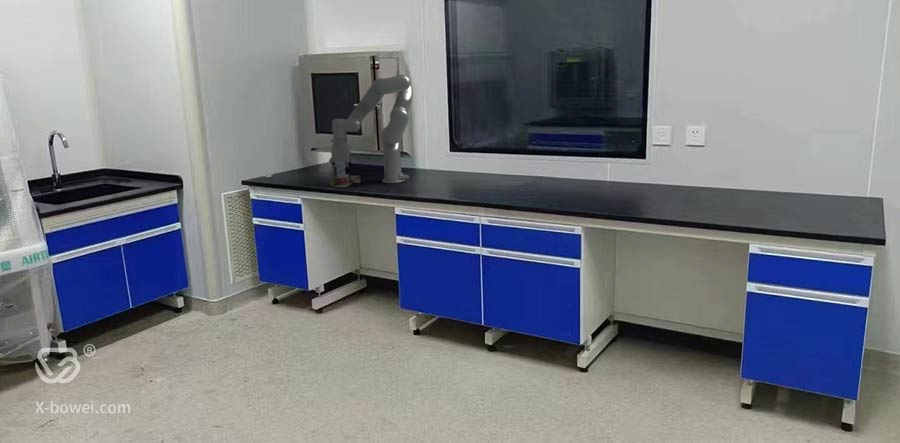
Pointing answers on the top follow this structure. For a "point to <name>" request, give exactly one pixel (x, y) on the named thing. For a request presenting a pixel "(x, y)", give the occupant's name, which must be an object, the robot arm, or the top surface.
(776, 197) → the top surface
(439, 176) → the top surface
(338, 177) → the ink box
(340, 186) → the pad
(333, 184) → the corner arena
